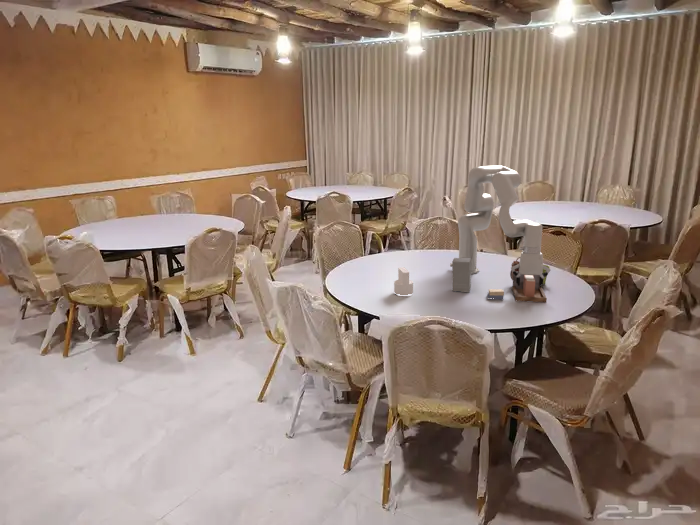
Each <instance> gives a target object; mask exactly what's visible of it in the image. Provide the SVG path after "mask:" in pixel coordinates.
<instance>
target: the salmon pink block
mask: <svg viewBox="0 0 700 525" xmlns="http://www.w3.org/2000/svg"><path fill="white" fill-rule="evenodd" d="M523 292H524V295H525V296H528V297H534V294H535V279H534V276H533V275H524V284H523Z"/></svg>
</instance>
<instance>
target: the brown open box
mask: <svg viewBox="0 0 700 525" xmlns="http://www.w3.org/2000/svg"><path fill="white" fill-rule="evenodd" d="M517 273H518V272H517ZM542 274H543V273H542ZM533 276H534V279H535V294H534V297H528V296H525V295H524V292H523V284H524V274H522V275H520V286H518V284H517V283H516V276H515V275H514V274H513V280H512V289H511V290H512V292H513V296H515V297H514V300H515V301H516V300H517V301H516V302H527V301H533V302H532V303H547V302H548V300H547V299H548V298H547V296H546V293H545V291H544V289H543V285H542V286H541V287H540V286H539V277H540V275H533Z"/></svg>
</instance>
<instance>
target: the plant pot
mask: <svg viewBox="0 0 700 525" xmlns="http://www.w3.org/2000/svg"><path fill="white" fill-rule="evenodd" d="M543 265H544V266H546V267H548V268H550V269H551V266H550V265H546V264H543ZM545 272H546V270H545V269H543V272H542V273H545ZM547 276H548V275H547ZM547 276H546V277H544V279H543V285H545V284H546V280H547V278H548V277H547Z"/></svg>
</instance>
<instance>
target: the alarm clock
mask: <svg viewBox="0 0 700 525" xmlns="http://www.w3.org/2000/svg"><path fill="white" fill-rule="evenodd" d="M520 257H521V256H518V257H517V258H516V260H513V262H511V267H513V266H515V265H517V264H519V262H520ZM518 260H519V261H518ZM515 271H516V272H519V268H516V269H515ZM509 274H510V279H511V281H513V272H512V270H511V269H510V272H509Z"/></svg>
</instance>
